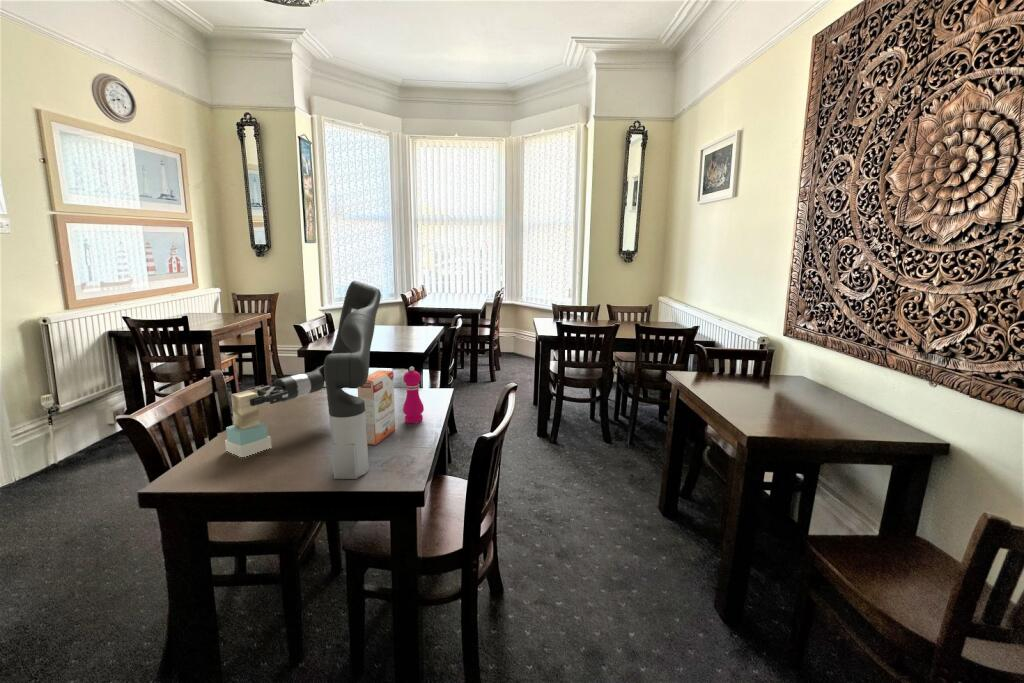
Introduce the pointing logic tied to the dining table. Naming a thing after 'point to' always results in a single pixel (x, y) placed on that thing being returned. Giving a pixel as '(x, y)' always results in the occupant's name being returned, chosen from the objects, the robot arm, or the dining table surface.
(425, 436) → the dining table surface
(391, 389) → the cracker box
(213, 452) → the dining table surface
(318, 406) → the dining table surface
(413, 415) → the pepper mill
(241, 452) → the tower base
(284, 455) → the dining table surface
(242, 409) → the birch post
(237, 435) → the tower top
